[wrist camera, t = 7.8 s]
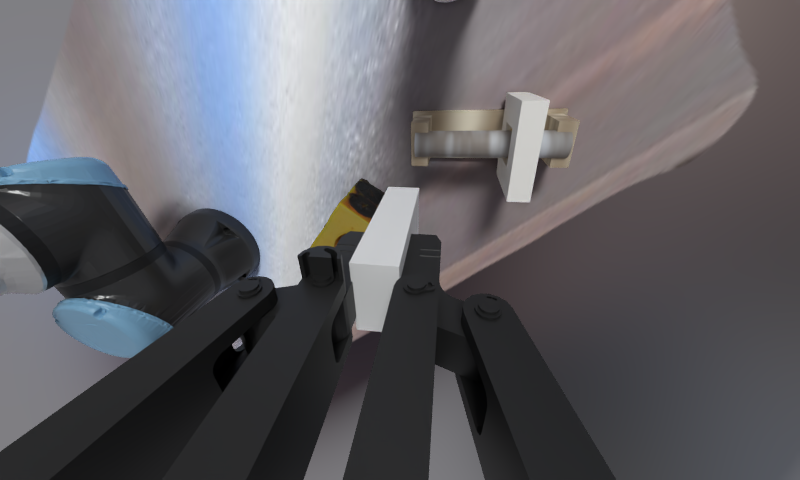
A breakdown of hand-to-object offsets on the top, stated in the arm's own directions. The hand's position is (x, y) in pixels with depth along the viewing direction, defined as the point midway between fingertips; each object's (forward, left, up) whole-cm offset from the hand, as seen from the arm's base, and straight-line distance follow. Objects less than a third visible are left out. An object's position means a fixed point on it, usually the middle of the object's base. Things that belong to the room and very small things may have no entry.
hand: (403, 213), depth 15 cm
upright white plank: (+9, -2, -29) cm, 31 cm away
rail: (+6, -2, -29) cm, 30 cm away
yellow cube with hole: (-10, -15, -30) cm, 35 cm away
